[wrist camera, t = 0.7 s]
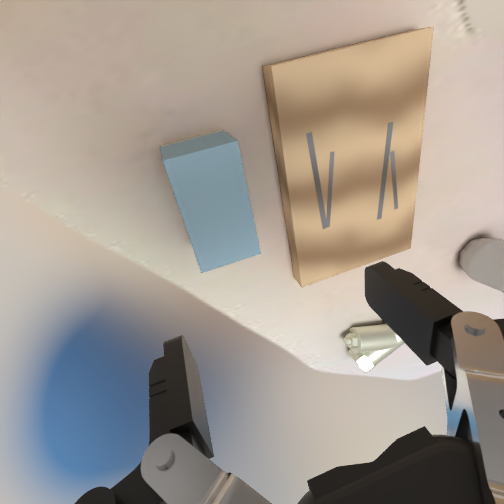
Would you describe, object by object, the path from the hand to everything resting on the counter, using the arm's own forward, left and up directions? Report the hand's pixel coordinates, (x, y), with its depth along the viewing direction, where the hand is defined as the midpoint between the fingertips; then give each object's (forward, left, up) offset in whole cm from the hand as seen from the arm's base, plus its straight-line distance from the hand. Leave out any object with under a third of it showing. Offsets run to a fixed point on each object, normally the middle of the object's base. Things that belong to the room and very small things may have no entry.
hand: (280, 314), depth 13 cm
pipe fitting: (+25, +15, -17) cm, 34 cm away
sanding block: (0, 0, -17) cm, 17 cm away
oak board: (+2, +13, -16) cm, 21 cm away
